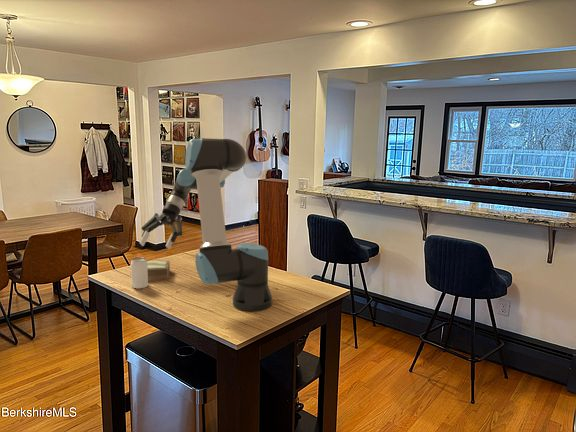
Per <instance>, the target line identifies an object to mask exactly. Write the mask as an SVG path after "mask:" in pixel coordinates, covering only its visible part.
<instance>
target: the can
mask: <svg viewBox="0 0 576 432" xmlns="http://www.w3.org/2000/svg"><path fill="white" fill-rule="evenodd" d="M147 261H148V260H147V258H146V257H133V258H132V259H131V262H130V272H131V273H130V275H131V287H132V288H133V289H135V288H136V290H142V289H146V288H147V287H148V286H149V281H148V270H147ZM145 287H146V288H145ZM141 288H142V289H141Z"/></svg>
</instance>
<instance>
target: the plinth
mask: <svg viewBox="0 0 576 432" xmlns="http://www.w3.org/2000/svg"><path fill="white" fill-rule="evenodd" d="M146 261H147V270H148V282H149V281H150V282H151V281H168V278H169V275H170V272H171V271H170V266H171V265H170V260H149V261H148V260H146Z"/></svg>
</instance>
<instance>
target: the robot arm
mask: <svg viewBox="0 0 576 432" xmlns="http://www.w3.org/2000/svg"><path fill="white" fill-rule="evenodd" d="M184 160H185V161H184V163H185V164H184V165H185V168H183V169H181V170H180V171H179V173H178V174H177V177H176V180H175V183H174V185H173V188H172V191H171V193H170V195H169V196H168V199H167V201H166V202H165V205H164V206H163V209H162V212H161V214H158V213H157V212H156V213H154V214H153V217H152V218H150V219H149V220H148V221H147V222H146V223H144V225H142V227H141V228H140V229H141V230H142V231H143V233H142V234H141V239H140V241H139V244H140V245H141V247H144V246H145V244H146V242H147V241H148V239H149V236H150V233H151V232H153V231H154V230H155V229H157V228H158V227H160V226H166V225H167V226H170V227H171V228H170V229H171V230H172V233H171V234H170V236H169V237H168V239H167V241H166V244H165V247H166V249H168V250H170V249H171V247H172V245H173V243H175V242H176V239H177V237H178V236H179V237H181V236H183V224H182V223H183V218H182V216H181V215H180V213H181V211H182V209H183V207H184V205H185V202H186V200H187V198H188V196H189V194H190V192H191V190H196V191H197V197H198V209H199V219H200V226H201V227H200V228H201V236H202V238H201V239H202V244H201V245H200V246H199V249H198V250H199V252H197V253H196V254H195V256H194V257H195V260H194V261H195V262H194V263H195V267H196V271H197V274H198V277H199V279H200V281H201V282H202V283H203V284H205V285H217V284H223V283H224V284H225V283H231V282H237V283H236V288H235V291H234V294H233V297H232V306H233V307H234V308H236V310H237V309H238V310H241V311H243V312H244V311H245V312H258V311H264V310H267V309H269V308H270V307H272V305H273V296H272V294H271V290H270V286H269V281H268V280H269V260H270V259H269V250H268V249H267V248H266V247H265V246H264V245H261V244H257V243H248V242H241V243H238V244H237V246H236V248H235V249H232V243H230V242H229V241H228V240H227V233H226V231H227V230H226V224H225V217H224V216H225V214H224V205H223V198H222V197H223V196H222V188H223V187H225V184H226V179H227V178H228V177H229V176H231V174H233V173H234V172H237V171H240V170H241V169H242V168H243V167H244V166H245V165H246V163H247V162H246V161H247V153H246V150H245V148H244V147H243V146H242V145H241V143H239V142H237V141H236V140H235V139H231V138H204V137H200V138H192V139H190V140H189V141H188V143H187V145H186V149H185V157H184ZM175 222H176V226H175Z"/></svg>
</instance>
